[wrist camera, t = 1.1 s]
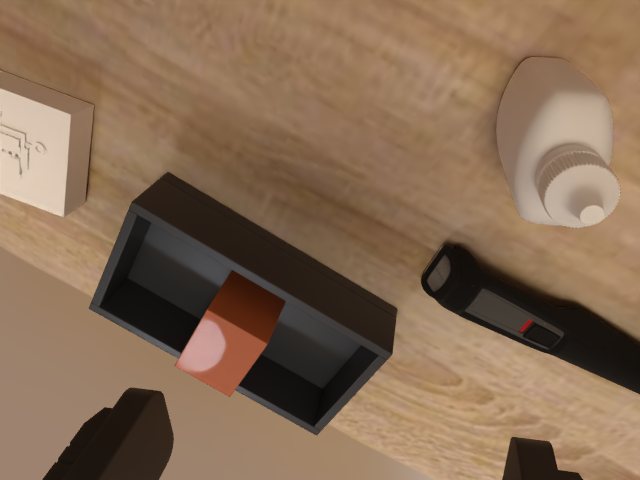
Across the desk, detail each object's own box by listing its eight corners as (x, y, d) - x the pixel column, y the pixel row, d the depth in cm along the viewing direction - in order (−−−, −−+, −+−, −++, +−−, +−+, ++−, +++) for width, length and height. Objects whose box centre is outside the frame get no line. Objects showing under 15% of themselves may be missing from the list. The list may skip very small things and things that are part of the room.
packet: (253, 345, 37) (229, 397, 33) (204, 317, 37) (173, 366, 32) (288, 294, 34) (267, 344, 30) (235, 263, 34) (207, 309, 29)
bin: (328, 387, 39) (316, 435, 35) (124, 271, 37) (88, 308, 33) (397, 308, 34) (392, 354, 30) (167, 171, 33) (131, 201, 29)
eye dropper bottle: (608, 90, 25) (724, 186, 15) (527, 176, 28) (578, 307, 18) (537, 38, 25) (608, 102, 15) (462, 132, 28) (477, 240, 18)
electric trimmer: (627, 383, 34) (645, 421, 31) (417, 280, 33) (416, 310, 30) (670, 345, 32) (693, 383, 29) (448, 234, 31) (450, 262, 28)
